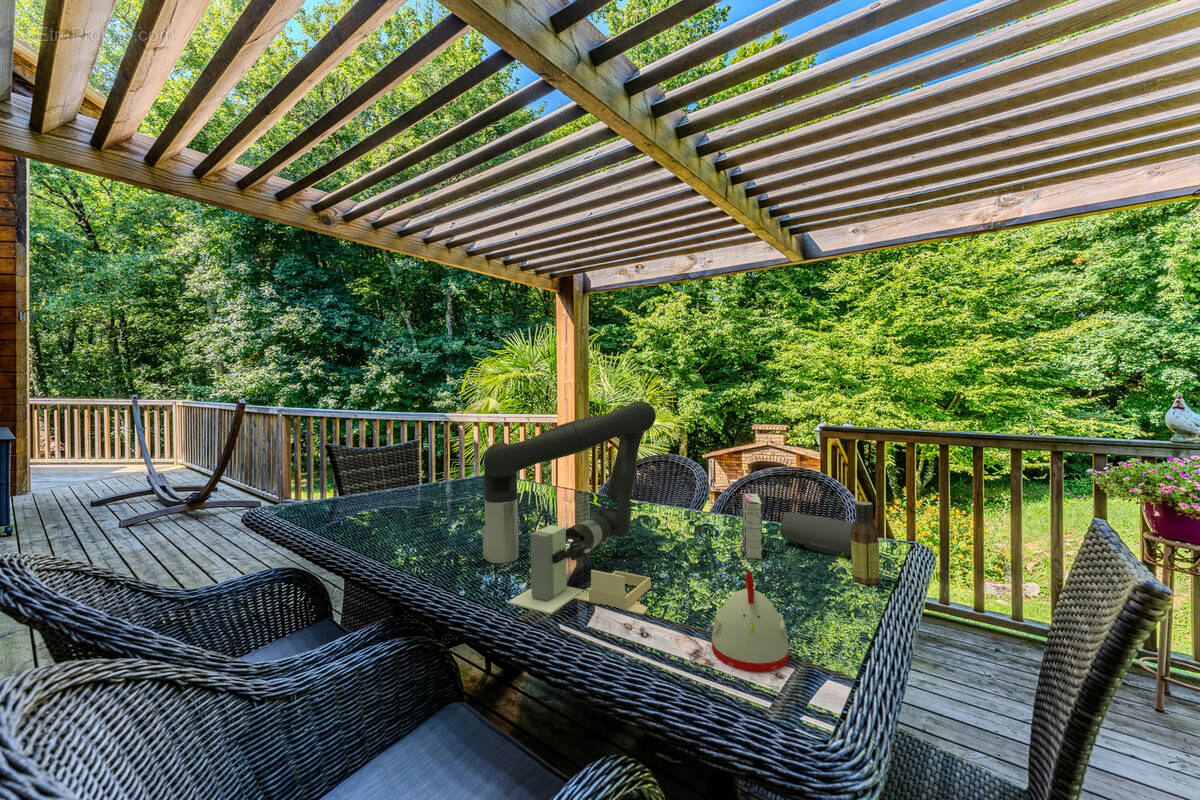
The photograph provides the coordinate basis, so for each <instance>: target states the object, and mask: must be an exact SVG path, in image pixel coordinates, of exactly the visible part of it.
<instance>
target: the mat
mask: <svg viewBox="0 0 1200 800" xmlns="http://www.w3.org/2000/svg"><path fill="white" fill-rule="evenodd" d="M584 590H585V589H582V588H577V587H572V586H568V585H567V588H566V589H565V590H563V591H562V592H560V593H559V594H557V595H556V596H554V597H553V598H551V599H550V600H548V601H546V600H541V599H537V598H533V597H532V587H531V588H529V589H527V590H525V591H524V592H522V593H520V594H518V595H517V596H515V597H512V598H511V599H510V600H508V601H507V604H509V605H512V606H513V605H514V606H516V605H517V607H519V608H520V607H521V608H525V609H529V610H531V611H537V612H540V613H543V614H547V615H552V614H554V613H555V612H557V611H558V610H559V609H561V608H562V607H564V606H566V605H567V604H568V603H569V602H571V601H572V600H574V597H576V596H577V595H578V594H580V593H581V592H582V591H584Z"/></svg>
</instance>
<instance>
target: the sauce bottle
mask: <svg viewBox="0 0 1200 800" xmlns="http://www.w3.org/2000/svg"><path fill="white" fill-rule="evenodd" d="M873 505H874V504H873V502H870V501H865V500H864V501H863V500H860V501H855V502H854V510H855V520H854V522H853V523H854V524H853V525H852V527H851V554H850V555H851V573H852V579H853V580H854V581H856V582H857V583H860V584H865V585H877V584H879V582H880V575H881V574H880V547H879V545H880V543H879V530H878V527H877V526H876V524H875V522H874V520H873V509H874V506H873Z"/></svg>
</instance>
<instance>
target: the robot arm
mask: <svg viewBox="0 0 1200 800" xmlns="http://www.w3.org/2000/svg"><path fill="white" fill-rule="evenodd" d="M656 414H657V413H656V410H655V408H654V407H653V406H652V405H651V404H650V403H648V402H645V401H641V400H639V401H634V402H631V403H630V404H627V405H625V406H623V407H621V408H617V409H616V410H613V411H610V412H607V413H603V414H599V415H594V416H588V417H584V418H579V419H575V420H573V421H570V422H565V423H562V424H560V425H559V424H558V425H556V426H553V427H552V428H550V429H548V430H546V431H543V432H542V433H540V434H538V435H536V436H533V437H531V438H528V439H525V440H522V441H517V442H514V443H506V442H495V443H493V444H491V445H489V447H487V449H486V450H485V452H484V457H483V465H484V467H483V468H484V469H483V470H484V474H483V475H484V518H485V519H484V520H485V521H484V522H485V523H484V525H483V526H482V556H483V558H482V559H484V560H485V561H487V562H488V563H491V564H507V563H511V562H514V561H516V560H518V558H519V517H518V516H519V513H518V512H519V511H518V510H519V509H518V506H519V505H518V478H517V477H518V475H517V473H518V472H519V471H521V470H525V469H526V468H529V467H531V466H534V465H536V464H541V463H545V462H549V461H554V460H558V459H560V458H564V457H568V456H571V455H575V454H578V453H581V452H584V451H587V450H589V449H592V448H594V447H597V446H599V445H601V444H603V443H605V442H607V441H609V440H611V439H614V438H616V437H619V441H618V447H617V453H616V456H615V460H614V463H613V467H612V472H611V475H610V479H609V483H608V487H607V492H606V498H608V499H609V500H610V501H612V502H614V503H615V504H616V505H617V509H613V508H610V507H601V508H598V509H597V510H596V512H595V513H594V515H593V516H592V517H591V518H589V519H587V520H584V521H580V522H578V523H576V524H574V525H573V526H570V527H568V528H566V547H565V548H564V549H563V550H560V551H558V552H556V553H554V554H553V555H552V563H554V564H556V563H558V562H560V561H562V560H566V561H567V560H569V559H570V560H571V561H576V560H579V559H582V558H584V557H588V556H590V555H591V550H593V549H594V548H596V547H597V546H598V545H600V544H601V543H603V542H605V541H606V540H607V539H608V538H609V536H611V535H612V536H615V537H617V538H618V537H619V538H622V537H624V536H625V535H626V534H627V533H628V532H629V531H630V527H631V523H632V522H631V520H632V519H631V498H632V497H631V496H632V493H633V488H634V483H635V481H636V474H637V464H638V463H637V462H638V461H637V460H638V454H639V448H640V445H641V442H642V440H643V437H644V434H645V432H647V431H649V430H650V429H651V428H652V426H653V425H654V424H655V421H656V418H657V416H656Z"/></svg>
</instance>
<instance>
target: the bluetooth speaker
mask: <svg viewBox="0 0 1200 800" xmlns="http://www.w3.org/2000/svg"><path fill="white" fill-rule="evenodd" d="M853 524H854V522H852V521H846V520H841V519H835V518H831V517H826V516H819V515H813V514H812V515H811V514H806V513H805V514H804V513H798V512H785V513H784V514H783V516H782V520H781V525H780V528H779V530H780V536H781V537H782V539H783V540H786V541H789V542H791V543H796V544H799V545H803V546H804V549H807V550H811V551H814V552H820V553H824V554H828V555H836V556H841V555H842V554H846V555H847V554H848V555H851V527H852V525H853Z"/></svg>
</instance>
